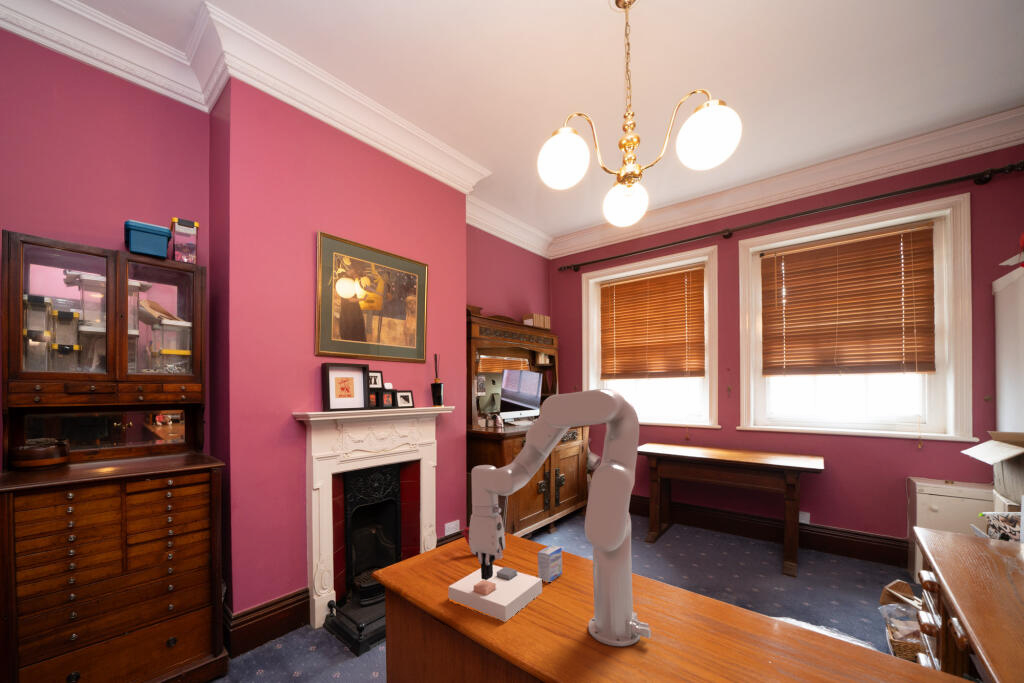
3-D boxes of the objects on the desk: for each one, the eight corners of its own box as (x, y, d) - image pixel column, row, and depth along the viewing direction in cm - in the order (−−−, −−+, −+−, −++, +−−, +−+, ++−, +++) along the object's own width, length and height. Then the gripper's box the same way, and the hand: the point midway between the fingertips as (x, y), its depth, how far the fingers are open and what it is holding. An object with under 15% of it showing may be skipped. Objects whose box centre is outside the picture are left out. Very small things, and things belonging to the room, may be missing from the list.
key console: (542, 593, 123) (542, 578, 123) (505, 622, 107) (505, 606, 108) (488, 576, 134) (488, 563, 134) (448, 601, 118) (448, 586, 119)
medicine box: (549, 584, 129) (549, 554, 130) (537, 580, 131) (537, 551, 132) (562, 575, 135) (562, 547, 136) (551, 571, 138) (550, 544, 139)
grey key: (516, 580, 126) (516, 570, 126) (508, 586, 122) (508, 575, 123) (505, 577, 128) (505, 566, 129) (496, 582, 125) (496, 571, 125)
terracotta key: (495, 594, 117) (495, 583, 117) (486, 601, 113) (486, 589, 114) (483, 590, 119) (483, 579, 120) (473, 597, 116) (473, 585, 116)
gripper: (514, 510, 118) (516, 578, 116) (473, 504, 126) (475, 567, 124) (498, 516, 112) (500, 589, 109) (457, 510, 120) (458, 577, 118)
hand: (487, 577), depth 117 cm, fingers closed
